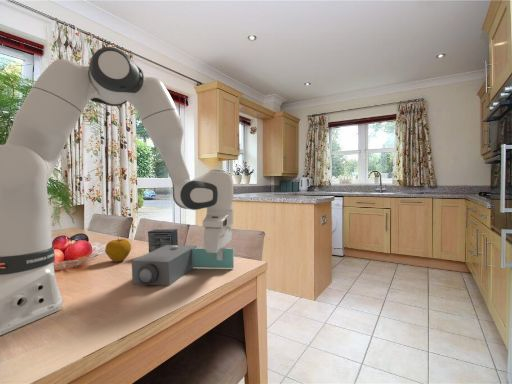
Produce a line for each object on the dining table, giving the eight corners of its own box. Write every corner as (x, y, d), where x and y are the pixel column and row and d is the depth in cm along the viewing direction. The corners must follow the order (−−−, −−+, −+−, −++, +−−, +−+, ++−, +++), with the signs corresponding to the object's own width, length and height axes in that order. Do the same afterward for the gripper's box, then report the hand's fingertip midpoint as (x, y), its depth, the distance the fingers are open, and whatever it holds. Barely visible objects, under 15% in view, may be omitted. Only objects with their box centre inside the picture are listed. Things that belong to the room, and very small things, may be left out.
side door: (234, 266, 92) (233, 247, 92) (233, 268, 91) (232, 248, 91) (193, 266, 94) (193, 247, 94) (192, 267, 93) (191, 248, 92)
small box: (179, 252, 115) (178, 228, 115) (172, 256, 109) (172, 231, 109) (155, 252, 116) (154, 228, 116) (148, 256, 110) (147, 231, 110)
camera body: (165, 289, 75) (164, 261, 75) (127, 287, 77) (125, 260, 77) (197, 264, 97) (196, 243, 97) (166, 263, 99) (166, 242, 99)
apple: (114, 266, 98) (112, 241, 98) (100, 262, 103) (99, 239, 103) (136, 259, 106) (135, 237, 105) (122, 257, 110) (122, 235, 110)
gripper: (219, 215, 100) (219, 251, 100) (200, 222, 80) (200, 268, 80) (236, 215, 99) (236, 252, 99) (220, 222, 79) (220, 269, 79)
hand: (219, 259), depth 90 cm, fingers closed
